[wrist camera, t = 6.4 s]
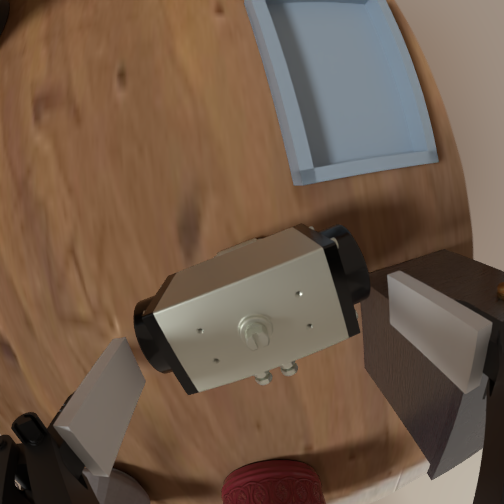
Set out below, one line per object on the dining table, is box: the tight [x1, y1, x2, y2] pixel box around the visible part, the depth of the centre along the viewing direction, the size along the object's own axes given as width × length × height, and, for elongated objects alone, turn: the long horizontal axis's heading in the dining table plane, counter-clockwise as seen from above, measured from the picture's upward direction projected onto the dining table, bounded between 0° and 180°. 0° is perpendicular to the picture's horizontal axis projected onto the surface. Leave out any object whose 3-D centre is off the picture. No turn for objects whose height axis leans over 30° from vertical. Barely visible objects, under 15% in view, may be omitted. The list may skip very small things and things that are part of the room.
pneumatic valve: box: [133, 223, 371, 395], centre depth 17 cm, size 6×12×12 cm, turn 111°
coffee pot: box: [15, 468, 150, 504], centre depth 20 cm, size 21×12×15 cm, turn 12°
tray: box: [244, 0, 439, 185], centre depth 19 cm, size 17×12×3 cm
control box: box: [361, 249, 504, 480], centre depth 18 cm, size 11×11×15 cm
